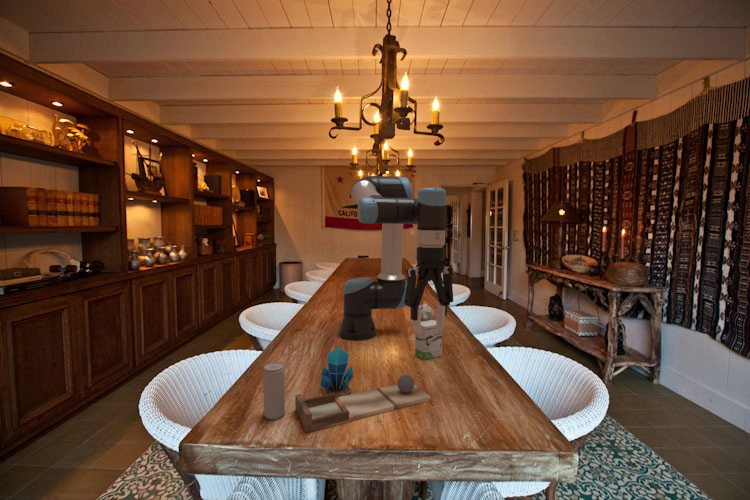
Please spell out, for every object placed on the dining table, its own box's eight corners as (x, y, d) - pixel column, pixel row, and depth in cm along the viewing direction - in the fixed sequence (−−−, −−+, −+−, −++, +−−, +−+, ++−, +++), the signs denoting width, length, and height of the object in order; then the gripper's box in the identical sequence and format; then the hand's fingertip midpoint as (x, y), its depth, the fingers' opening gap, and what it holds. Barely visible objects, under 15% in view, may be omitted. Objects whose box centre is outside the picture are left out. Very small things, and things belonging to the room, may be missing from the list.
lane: (295, 410, 85) (295, 394, 85) (409, 384, 100) (410, 370, 100) (306, 432, 76) (306, 415, 76) (430, 400, 91) (430, 385, 91)
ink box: (423, 360, 118) (424, 326, 117) (414, 355, 122) (415, 322, 121) (442, 355, 122) (443, 322, 121) (432, 351, 126) (433, 319, 126)
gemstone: (323, 386, 98) (323, 344, 97) (353, 387, 98) (353, 345, 97) (317, 399, 91) (317, 354, 90) (351, 400, 91) (351, 355, 90)
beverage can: (266, 409, 85) (265, 362, 85) (286, 409, 86) (286, 361, 85) (261, 421, 81) (261, 370, 80) (282, 420, 81) (282, 370, 80)
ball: (394, 389, 94) (394, 373, 94) (408, 386, 96) (408, 370, 96) (402, 397, 90) (403, 380, 90) (417, 393, 92) (417, 377, 92)
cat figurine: (420, 297, 173) (426, 300, 158) (434, 306, 173) (441, 310, 158) (410, 314, 173) (415, 319, 158) (424, 322, 173) (430, 328, 158)
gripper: (406, 248, 86) (404, 338, 88) (469, 246, 95) (466, 328, 97) (391, 246, 92) (389, 330, 94) (451, 244, 102) (449, 322, 103)
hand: (428, 329), depth 95 cm, fingers open, 7 cm apart
